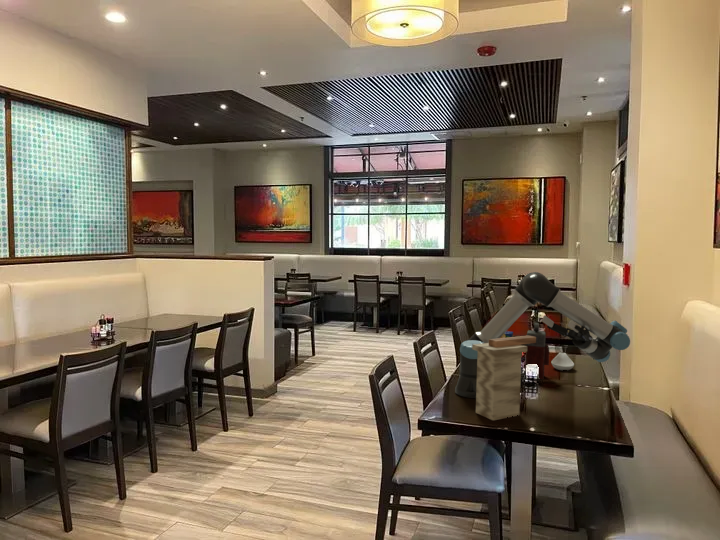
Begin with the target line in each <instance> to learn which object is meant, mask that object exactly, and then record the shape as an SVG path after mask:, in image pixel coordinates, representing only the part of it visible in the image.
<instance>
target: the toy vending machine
mask: <svg viewBox="0 0 720 540" xmlns="http://www.w3.org/2000/svg"><path fill="white" fill-rule="evenodd" d="M539 328H540V323H539V322H534V326H533V330H530V329H528V330H527V333H526V336H527V335H529V336H534V337H536V343H530V344H525V346H527V352H526V365H527V364H537V365H538V367H539V378H540V379H545V378H544V377H545V366H549V365H550V347H549V344H548V343H546V339H547V338H546V336H547V333H546V331H543V330H542V331H541V330H540V329H539ZM526 365H525V366H526ZM540 379H539V380H540Z"/></svg>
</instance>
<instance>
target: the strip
mask: <svg viewBox="0 0 720 540" xmlns="http://www.w3.org/2000/svg"><path fill="white" fill-rule="evenodd" d="M530 343H536V337H534V336H529V335H527V334H526V335H521V336H520V335H517V336H513V337H508V338H498V339H489V346H493V347H503V346H512V345H526V344H530Z"/></svg>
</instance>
